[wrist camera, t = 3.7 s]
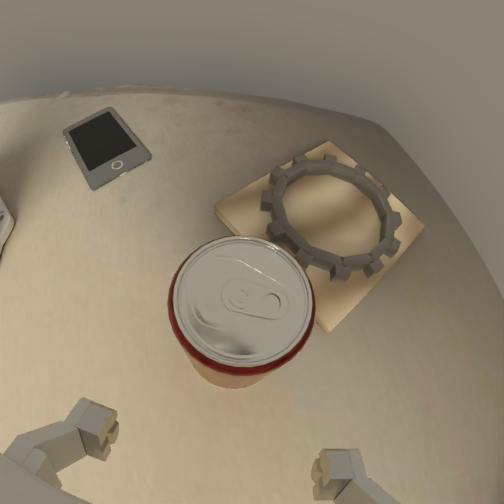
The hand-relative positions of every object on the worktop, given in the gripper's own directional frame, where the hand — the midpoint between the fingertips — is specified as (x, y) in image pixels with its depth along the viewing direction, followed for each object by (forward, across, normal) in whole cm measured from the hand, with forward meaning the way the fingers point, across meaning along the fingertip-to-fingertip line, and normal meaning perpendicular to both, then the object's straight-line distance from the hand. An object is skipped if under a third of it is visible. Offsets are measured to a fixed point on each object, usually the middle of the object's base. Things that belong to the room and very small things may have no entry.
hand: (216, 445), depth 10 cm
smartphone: (+29, +22, -10) cm, 38 cm away
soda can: (+14, 0, +4) cm, 15 cm away
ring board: (+24, -8, -6) cm, 26 cm away
